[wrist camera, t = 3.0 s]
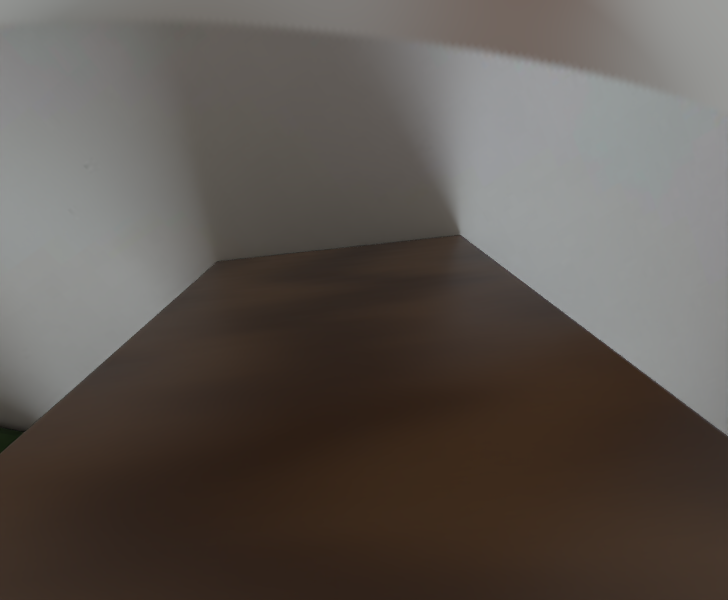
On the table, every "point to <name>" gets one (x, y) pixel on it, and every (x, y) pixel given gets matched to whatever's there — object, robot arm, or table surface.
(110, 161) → the table surface
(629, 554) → the holder
